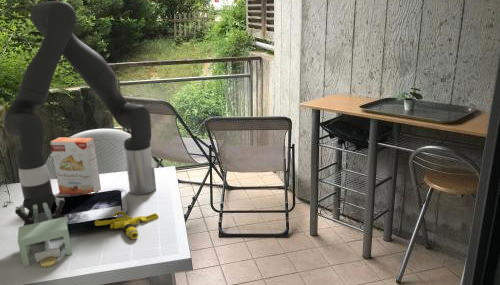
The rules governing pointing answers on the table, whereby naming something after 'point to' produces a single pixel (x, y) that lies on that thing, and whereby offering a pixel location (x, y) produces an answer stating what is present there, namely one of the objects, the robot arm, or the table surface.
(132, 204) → the table surface
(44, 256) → the block
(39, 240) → the footstool
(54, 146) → the cracker box
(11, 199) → the table surface
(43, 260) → the token
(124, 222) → the sprinkler
